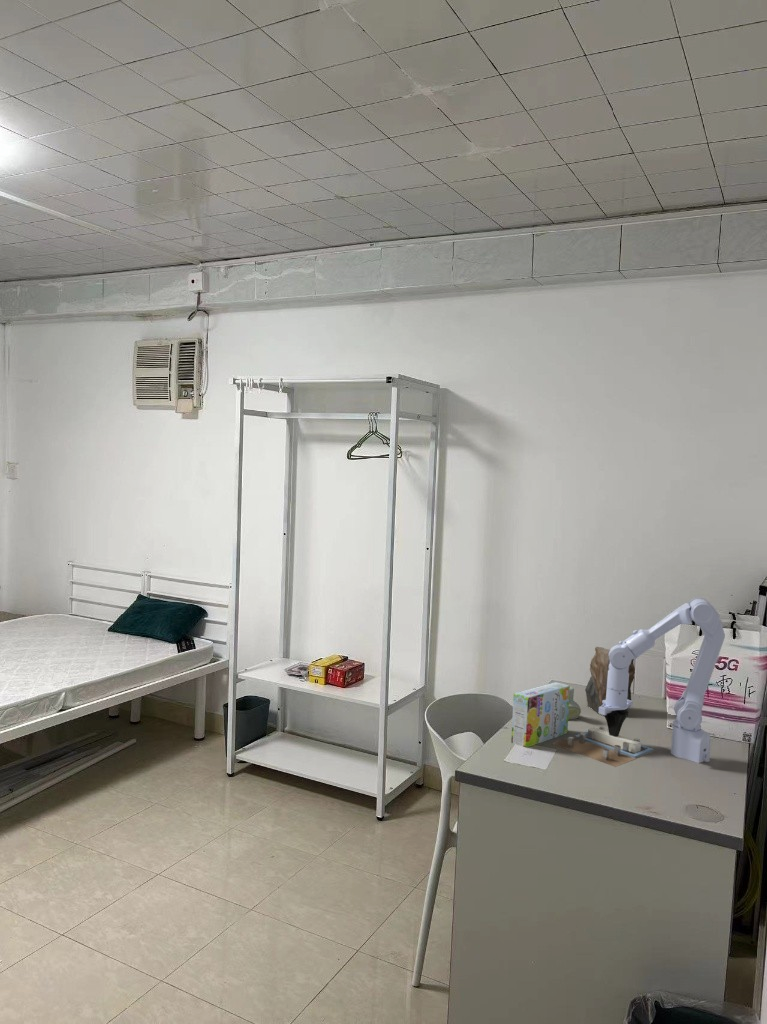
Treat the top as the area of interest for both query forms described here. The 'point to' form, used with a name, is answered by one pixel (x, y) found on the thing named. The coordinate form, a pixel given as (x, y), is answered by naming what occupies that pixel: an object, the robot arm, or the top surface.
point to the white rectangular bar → (615, 740)
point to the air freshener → (573, 706)
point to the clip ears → (605, 751)
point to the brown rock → (602, 679)
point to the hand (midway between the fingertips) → (613, 735)
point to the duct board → (597, 751)
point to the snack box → (540, 714)
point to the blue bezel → (620, 750)
